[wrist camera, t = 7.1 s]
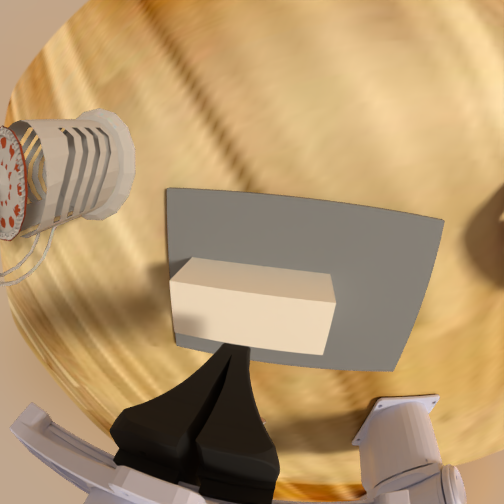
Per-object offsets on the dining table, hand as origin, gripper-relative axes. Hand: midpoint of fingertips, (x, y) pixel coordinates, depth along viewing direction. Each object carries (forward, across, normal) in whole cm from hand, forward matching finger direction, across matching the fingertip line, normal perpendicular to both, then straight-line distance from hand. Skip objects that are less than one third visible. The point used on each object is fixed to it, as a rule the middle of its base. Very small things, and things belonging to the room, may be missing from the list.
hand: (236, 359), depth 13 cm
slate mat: (+8, -3, 0) cm, 8 cm away
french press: (+8, +15, -8) cm, 19 cm away
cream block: (+6, -5, 0) cm, 7 cm away
